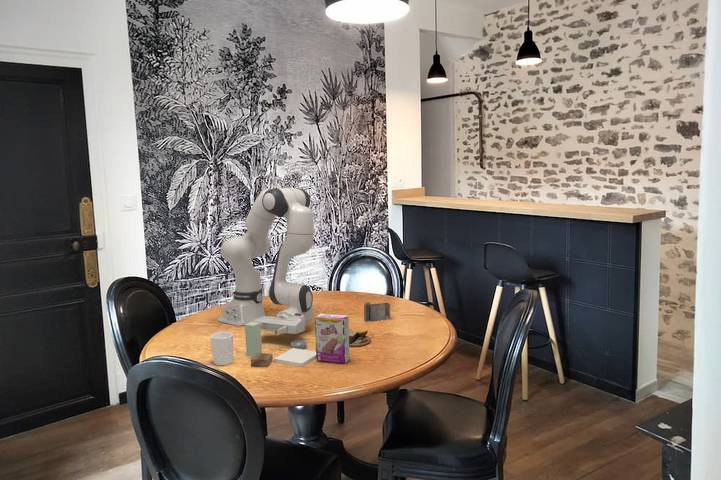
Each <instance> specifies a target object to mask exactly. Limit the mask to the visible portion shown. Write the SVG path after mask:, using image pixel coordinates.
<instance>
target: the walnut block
mask: <svg viewBox="0 0 721 480" xmlns="http://www.w3.org/2000/svg"><path fill="white" fill-rule="evenodd" d="M250 358H251V359H250V367H251V368H268V367H270V366H271V364H272V363H273V362H274V358H273V353H263V352H262V353H256V354H255V355H254V356H253V357H250ZM270 363H271V364H270Z"/></svg>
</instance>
